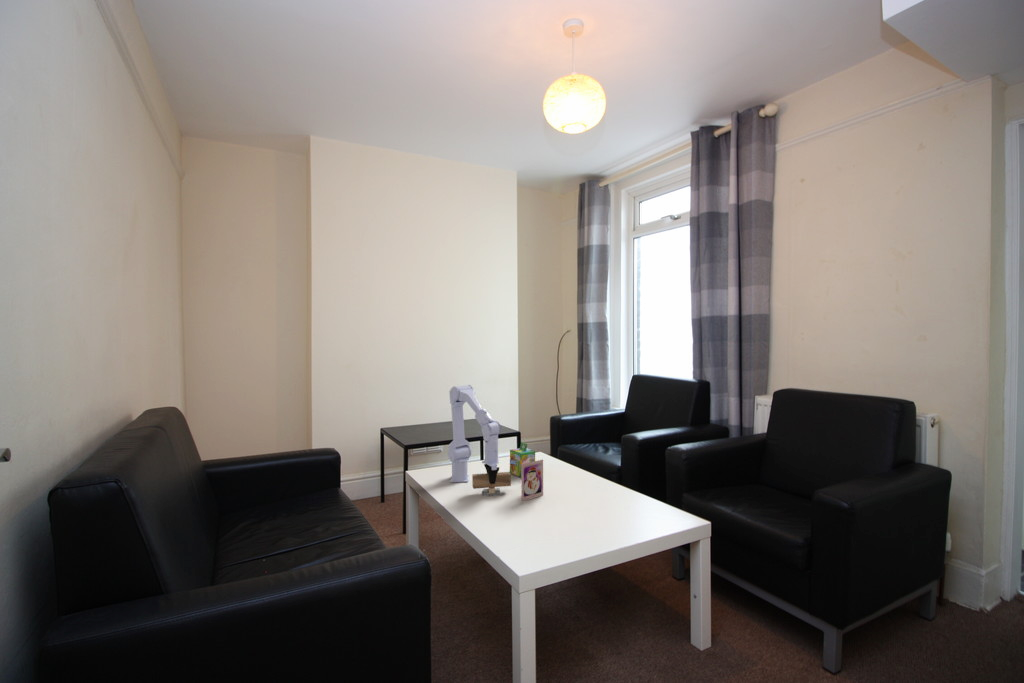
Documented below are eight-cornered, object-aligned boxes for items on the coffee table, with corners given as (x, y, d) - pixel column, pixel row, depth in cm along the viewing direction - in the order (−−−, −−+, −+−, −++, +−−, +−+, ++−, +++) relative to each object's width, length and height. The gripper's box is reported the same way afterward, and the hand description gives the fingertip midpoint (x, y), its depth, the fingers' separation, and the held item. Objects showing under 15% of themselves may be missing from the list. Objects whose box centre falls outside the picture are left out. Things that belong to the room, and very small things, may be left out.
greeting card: (522, 501, 188) (522, 464, 187) (512, 496, 194) (511, 460, 193) (544, 495, 194) (544, 459, 194) (533, 490, 200) (533, 456, 200)
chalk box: (509, 473, 226) (509, 443, 226) (524, 470, 232) (523, 440, 231) (520, 478, 219) (520, 446, 218) (536, 474, 224) (535, 443, 224)
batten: (472, 486, 199) (472, 474, 199) (509, 483, 202) (509, 471, 202) (473, 488, 195) (473, 476, 195) (510, 485, 199) (510, 474, 198)
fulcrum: (483, 490, 201) (483, 484, 201) (499, 489, 202) (499, 484, 202) (483, 495, 195) (483, 489, 195) (500, 494, 196) (500, 488, 196)
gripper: (479, 447, 205) (480, 477, 205) (484, 455, 191) (484, 488, 191) (495, 446, 206) (495, 476, 206) (501, 454, 192) (501, 487, 192)
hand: (491, 482), depth 199 cm, fingers closed on batten, 3 cm apart
